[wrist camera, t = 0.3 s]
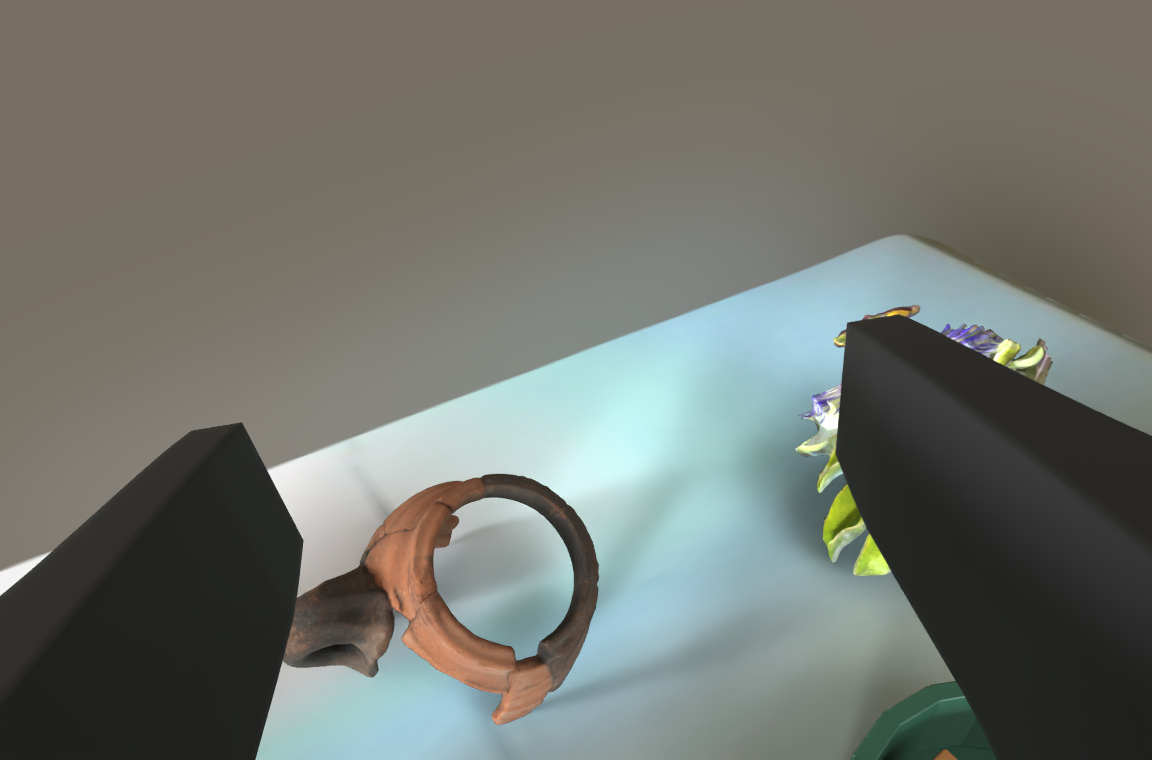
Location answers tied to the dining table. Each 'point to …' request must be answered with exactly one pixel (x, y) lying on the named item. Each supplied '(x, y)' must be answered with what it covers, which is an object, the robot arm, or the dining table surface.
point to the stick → (944, 755)
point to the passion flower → (843, 512)
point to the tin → (927, 728)
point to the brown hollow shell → (407, 584)
